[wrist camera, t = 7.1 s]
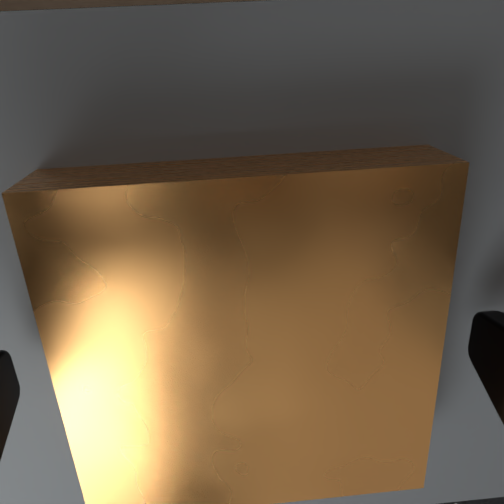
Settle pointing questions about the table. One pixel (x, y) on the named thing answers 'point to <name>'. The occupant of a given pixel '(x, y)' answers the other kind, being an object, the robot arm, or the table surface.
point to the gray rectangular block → (260, 143)
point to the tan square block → (244, 319)
